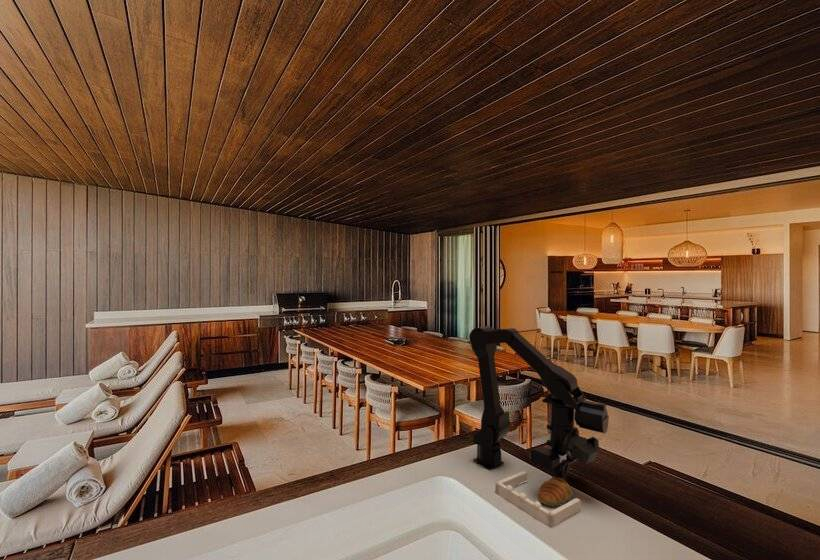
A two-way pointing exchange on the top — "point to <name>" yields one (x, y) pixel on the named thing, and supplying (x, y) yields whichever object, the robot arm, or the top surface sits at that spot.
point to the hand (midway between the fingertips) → (561, 483)
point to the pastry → (555, 492)
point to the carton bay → (534, 508)
